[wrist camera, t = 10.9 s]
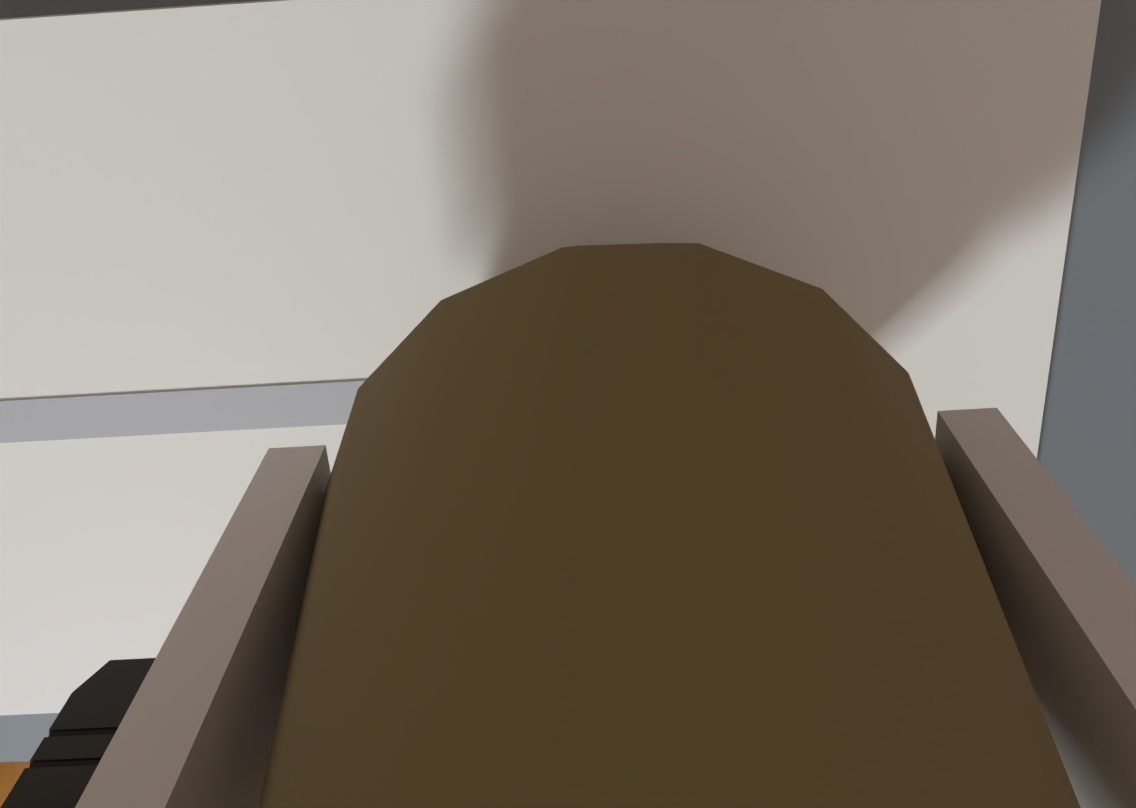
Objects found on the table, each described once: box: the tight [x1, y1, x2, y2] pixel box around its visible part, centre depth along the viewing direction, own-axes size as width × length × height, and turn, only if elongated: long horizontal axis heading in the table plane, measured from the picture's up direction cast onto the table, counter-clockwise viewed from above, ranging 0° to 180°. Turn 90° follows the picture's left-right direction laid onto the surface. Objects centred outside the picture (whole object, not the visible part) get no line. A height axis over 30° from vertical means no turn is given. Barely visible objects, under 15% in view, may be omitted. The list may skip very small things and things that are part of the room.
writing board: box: [0, 0, 1136, 762], centre depth 19 cm, size 30×16×1 cm, turn 94°
